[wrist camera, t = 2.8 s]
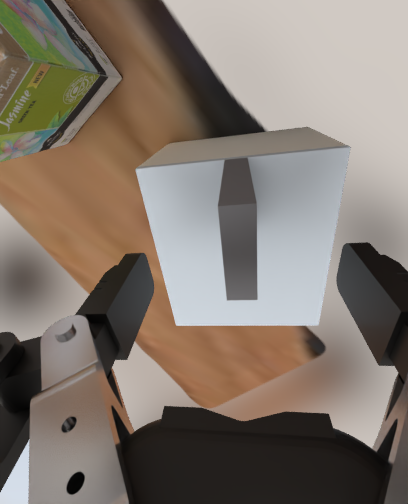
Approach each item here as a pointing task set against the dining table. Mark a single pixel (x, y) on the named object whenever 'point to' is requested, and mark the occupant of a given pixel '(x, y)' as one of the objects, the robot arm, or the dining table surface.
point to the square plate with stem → (246, 234)
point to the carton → (242, 146)
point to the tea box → (47, 76)
